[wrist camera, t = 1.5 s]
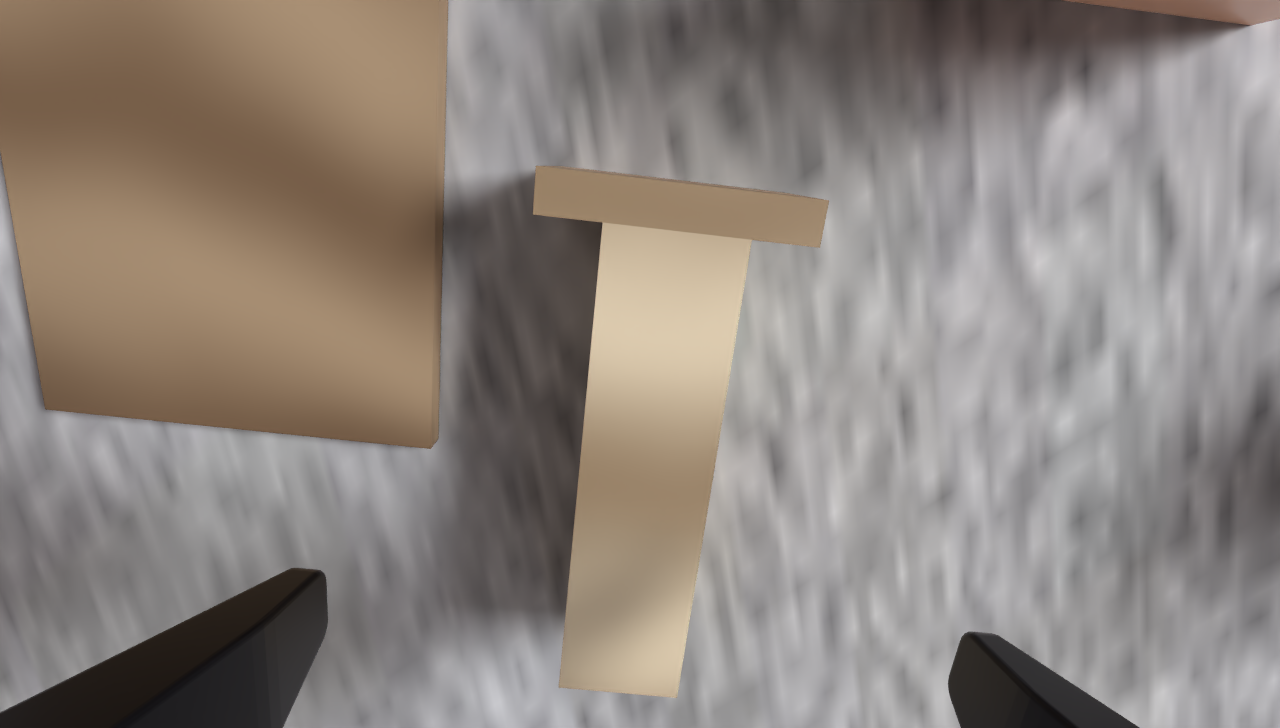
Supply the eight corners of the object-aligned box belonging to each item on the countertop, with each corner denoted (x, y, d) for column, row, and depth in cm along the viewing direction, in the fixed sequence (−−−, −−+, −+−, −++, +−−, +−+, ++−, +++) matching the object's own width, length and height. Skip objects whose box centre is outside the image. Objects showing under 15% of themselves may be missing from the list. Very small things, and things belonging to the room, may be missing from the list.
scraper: (712, 599, 17) (730, 702, 14) (529, 582, 17) (503, 682, 14) (783, 192, 14) (829, 200, 11) (560, 166, 14) (536, 165, 11)
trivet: (438, 438, 16) (431, 449, 15) (67, 400, 16) (45, 409, 15) (451, -130, 12) (441, -144, 12) (-30, -195, 12) (-63, -213, 11)
